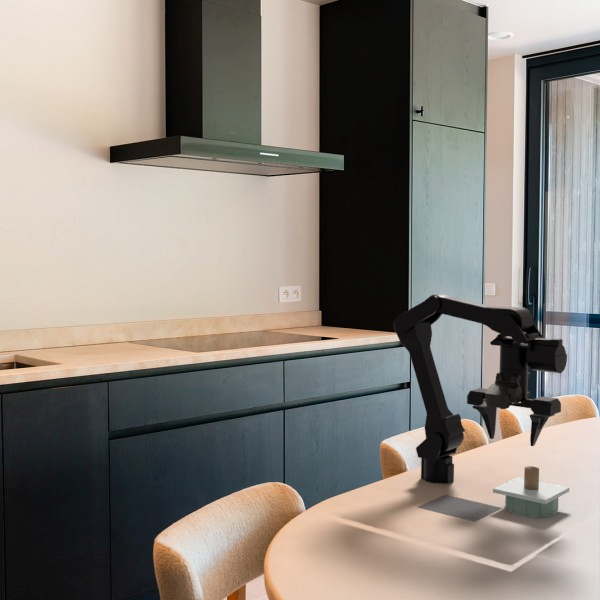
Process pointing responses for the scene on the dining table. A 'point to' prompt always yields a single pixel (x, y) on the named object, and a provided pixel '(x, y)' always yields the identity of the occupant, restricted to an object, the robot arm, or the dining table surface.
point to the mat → (460, 508)
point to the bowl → (531, 507)
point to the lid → (531, 488)
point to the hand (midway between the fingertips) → (511, 442)
